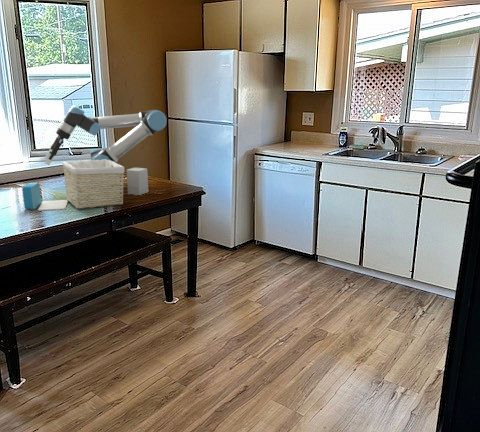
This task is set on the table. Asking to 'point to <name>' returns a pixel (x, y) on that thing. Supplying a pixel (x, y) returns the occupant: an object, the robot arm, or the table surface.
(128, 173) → the supplement box
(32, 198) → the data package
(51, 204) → the white flat rectangular panel
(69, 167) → the basket
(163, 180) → the table surface
